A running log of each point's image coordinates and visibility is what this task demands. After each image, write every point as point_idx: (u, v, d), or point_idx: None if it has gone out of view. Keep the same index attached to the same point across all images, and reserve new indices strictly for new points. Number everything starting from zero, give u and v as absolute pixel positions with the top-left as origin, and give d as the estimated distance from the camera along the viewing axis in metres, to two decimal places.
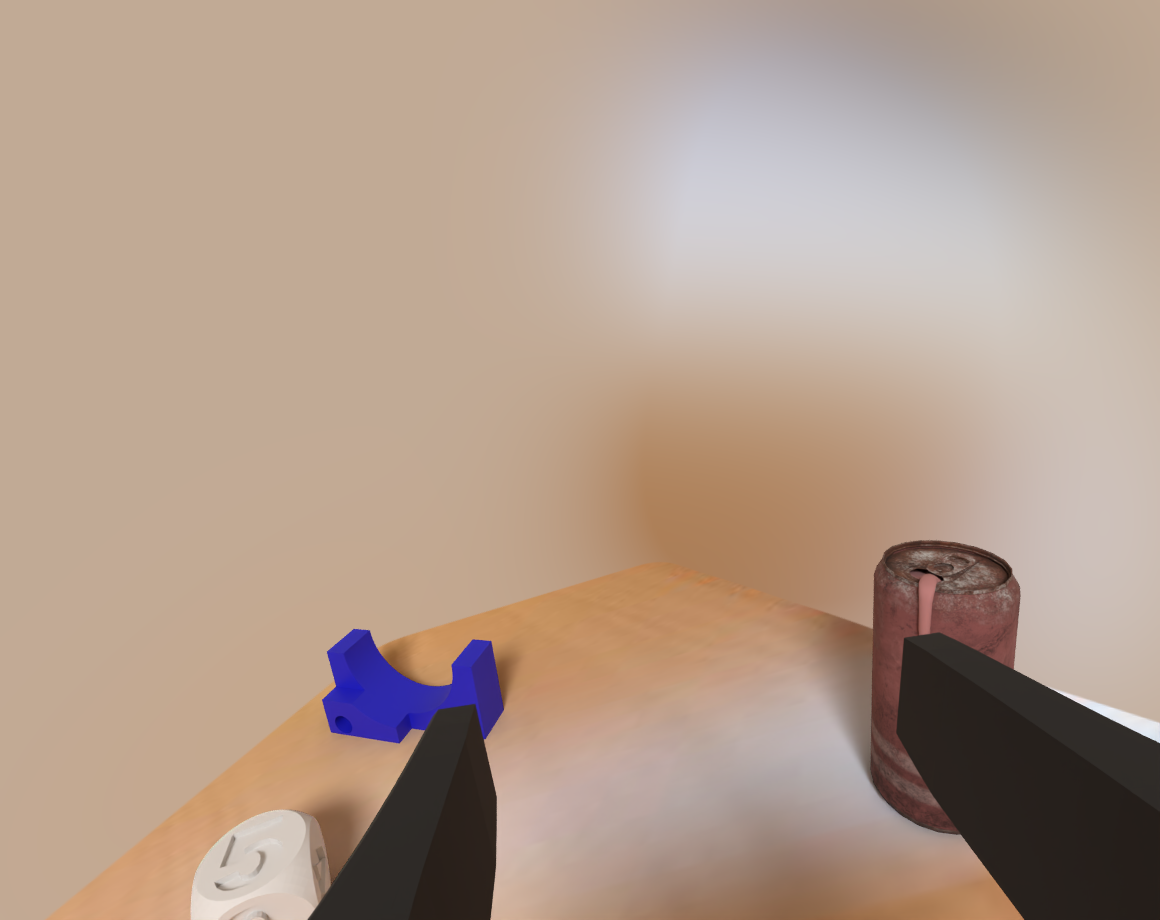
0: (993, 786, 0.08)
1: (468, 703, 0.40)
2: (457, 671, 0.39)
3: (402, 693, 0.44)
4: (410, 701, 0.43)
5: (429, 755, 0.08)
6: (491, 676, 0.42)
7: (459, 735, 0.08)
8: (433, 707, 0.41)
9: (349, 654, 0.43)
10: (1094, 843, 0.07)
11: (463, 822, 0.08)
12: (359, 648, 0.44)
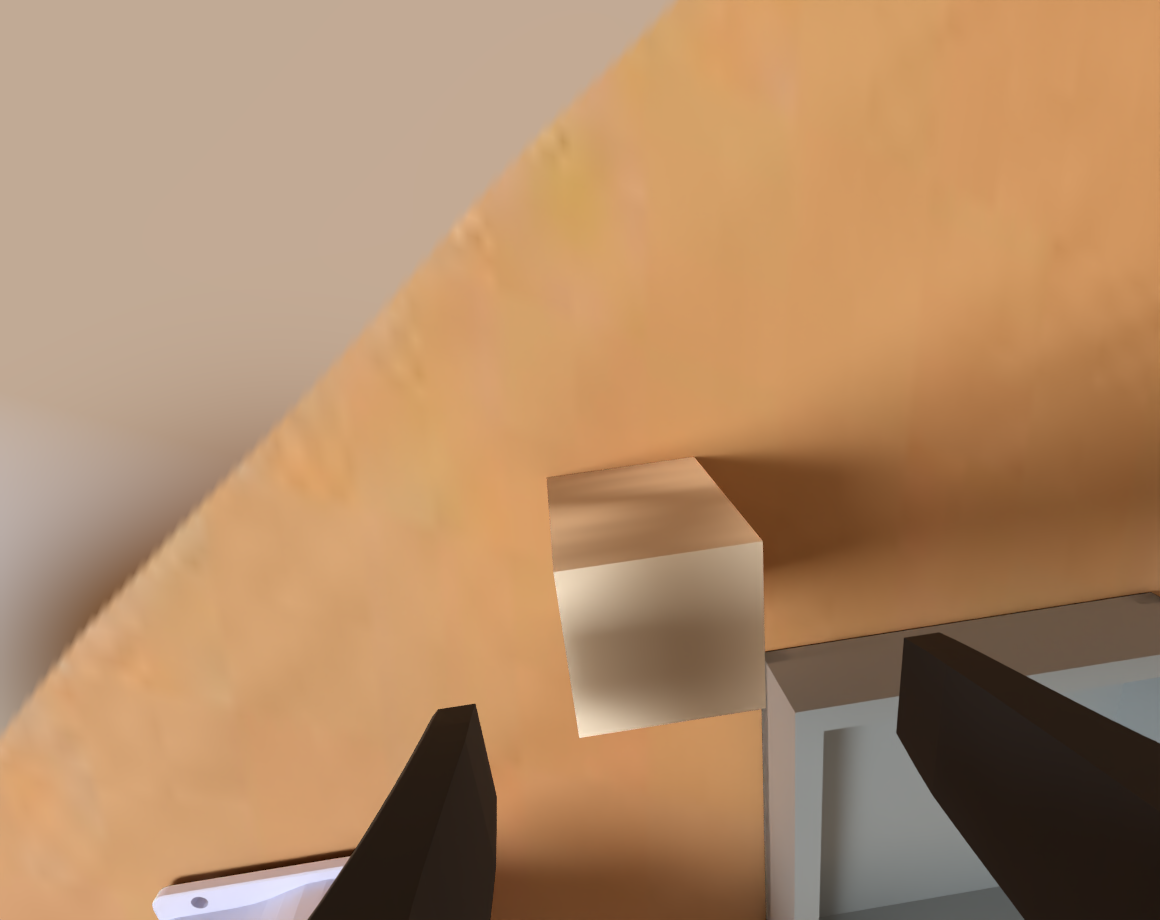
0: (993, 786, 0.08)
1: None
2: None
3: None
4: None
5: (429, 755, 0.08)
6: None
7: (459, 735, 0.08)
8: None
9: None
10: (1094, 843, 0.07)
11: (463, 822, 0.08)
12: None
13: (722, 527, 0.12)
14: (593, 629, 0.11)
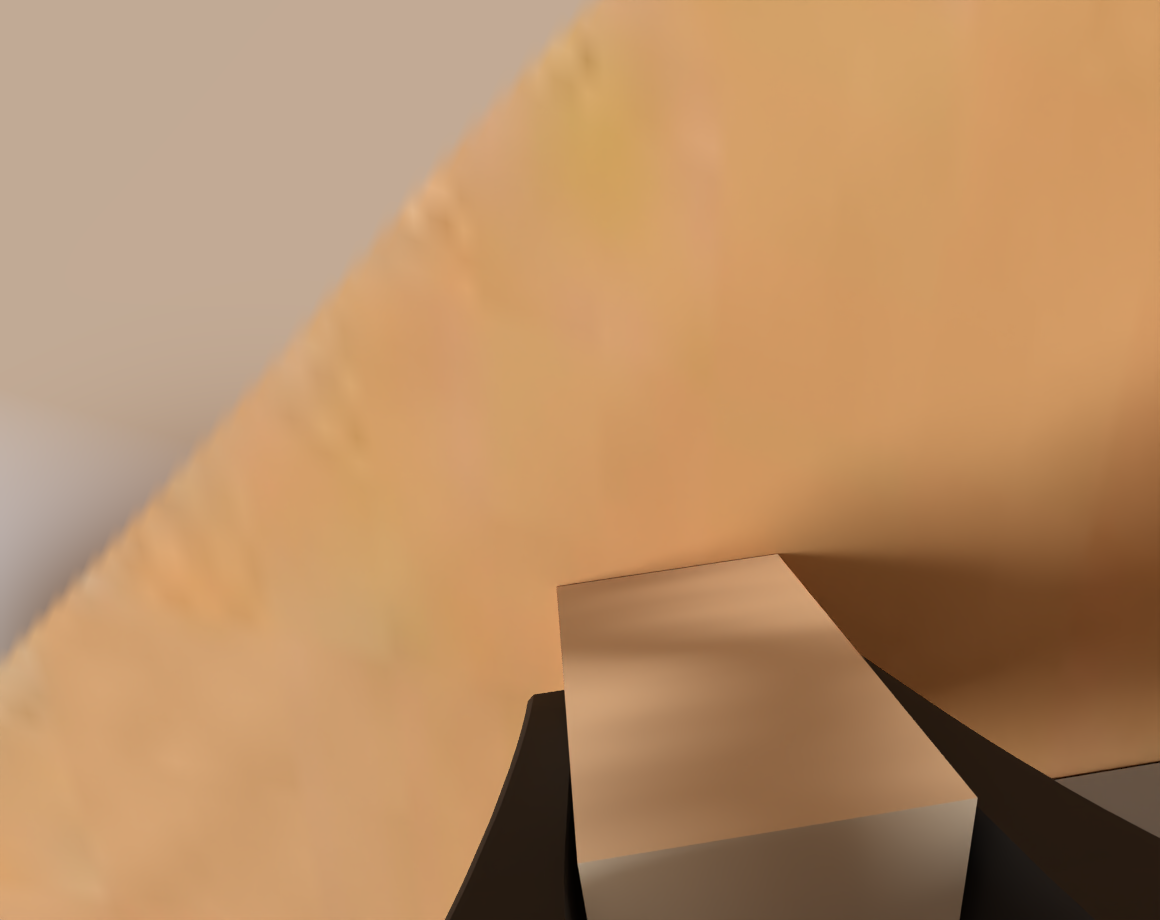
0: None
1: None
2: None
3: None
4: None
5: (539, 738, 0.08)
6: None
7: (564, 718, 0.08)
8: None
9: None
10: None
11: None
12: None
13: (881, 744, 0.06)
14: None
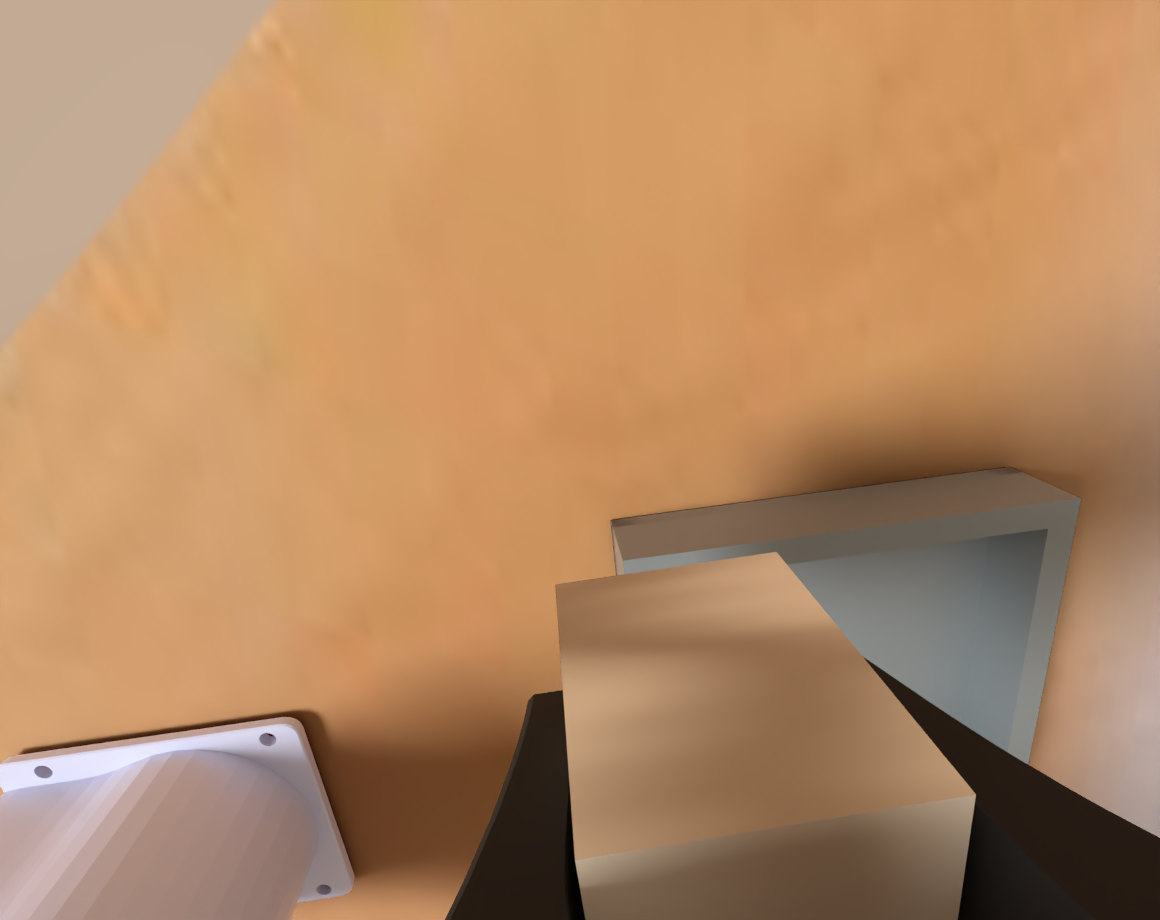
0: None
1: None
2: None
3: None
4: None
5: (539, 738, 0.08)
6: None
7: (564, 718, 0.08)
8: None
9: None
10: None
11: None
12: None
13: (879, 741, 0.06)
14: None
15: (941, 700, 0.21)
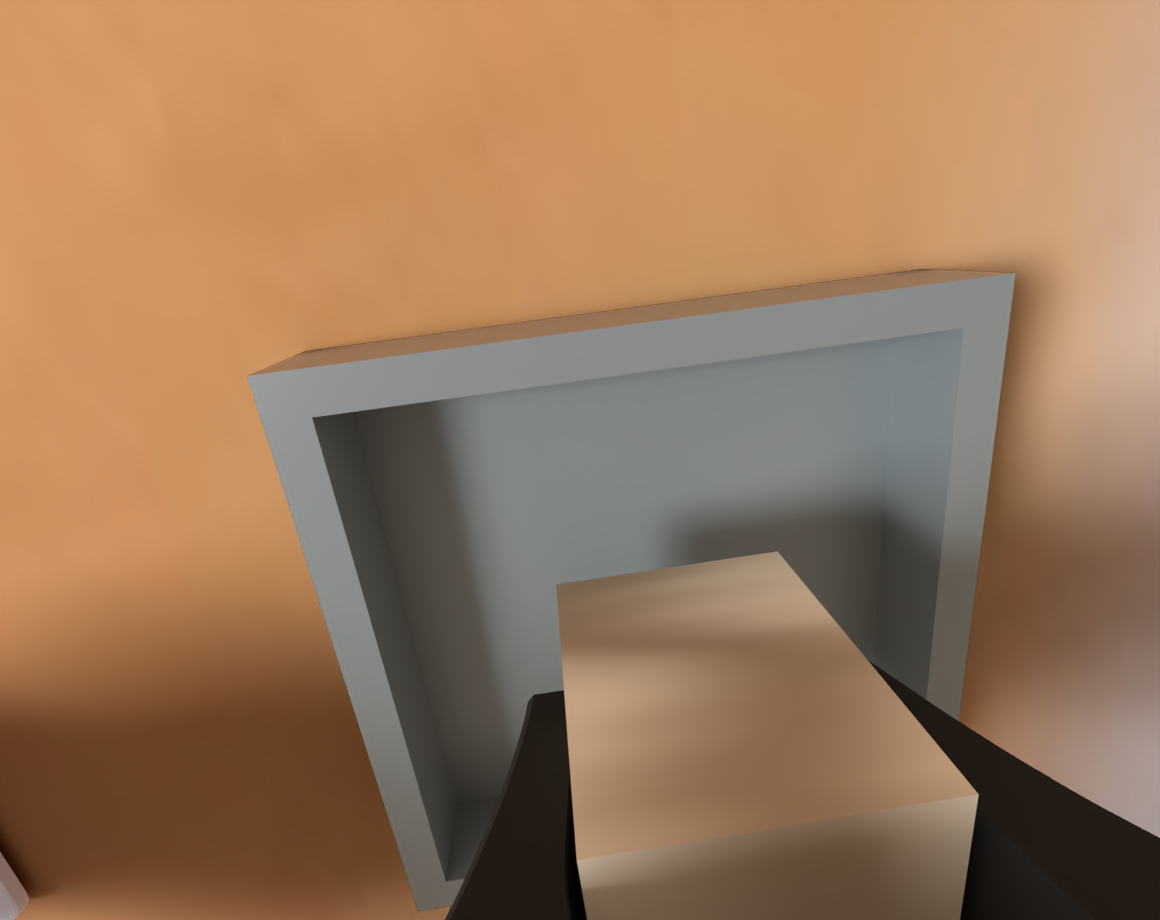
0: None
1: None
2: None
3: None
4: None
5: (539, 738, 0.08)
6: None
7: (564, 718, 0.08)
8: None
9: None
10: None
11: None
12: None
13: (881, 741, 0.06)
14: None
15: None
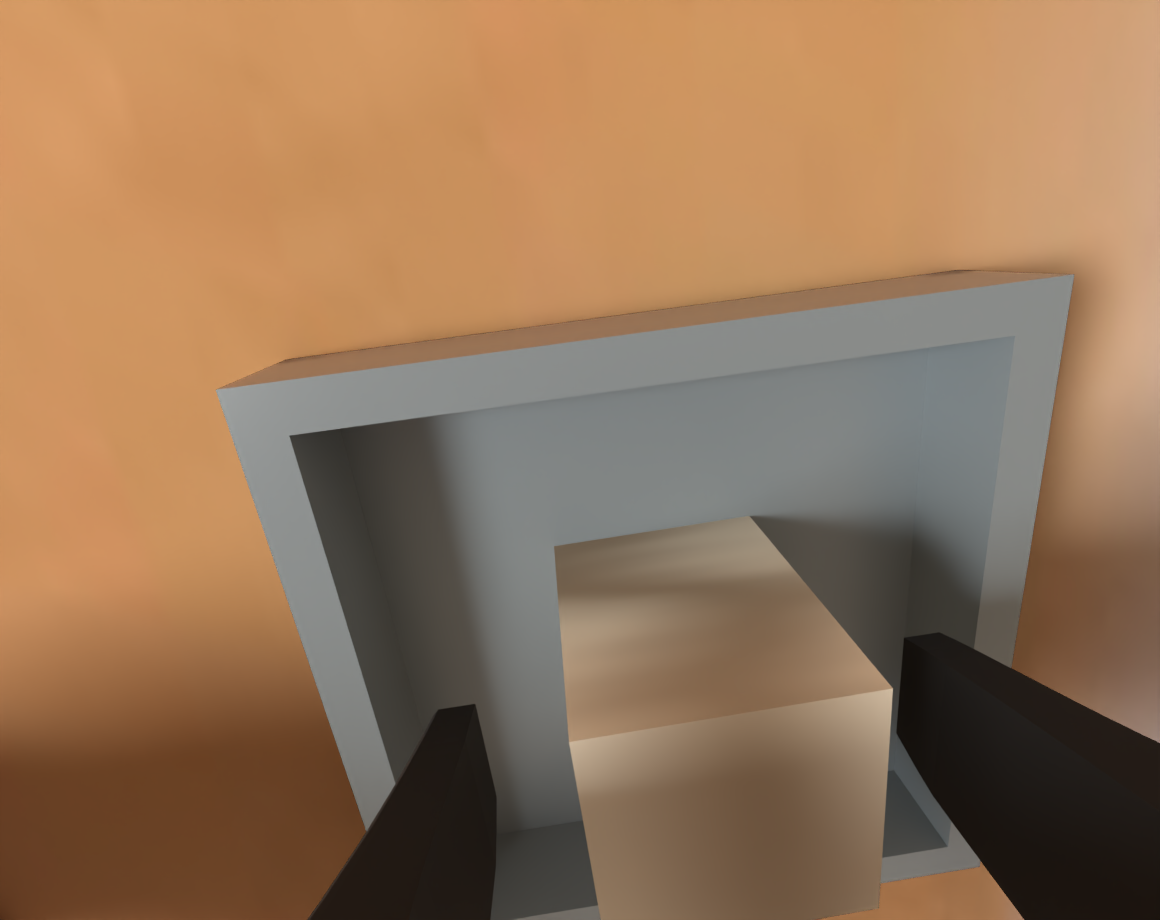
0: (993, 786, 0.08)
1: None
2: None
3: None
4: None
5: (429, 755, 0.08)
6: None
7: (459, 735, 0.08)
8: None
9: None
10: (1094, 843, 0.07)
11: (463, 822, 0.08)
12: None
13: (820, 654, 0.08)
14: (629, 817, 0.07)
15: None
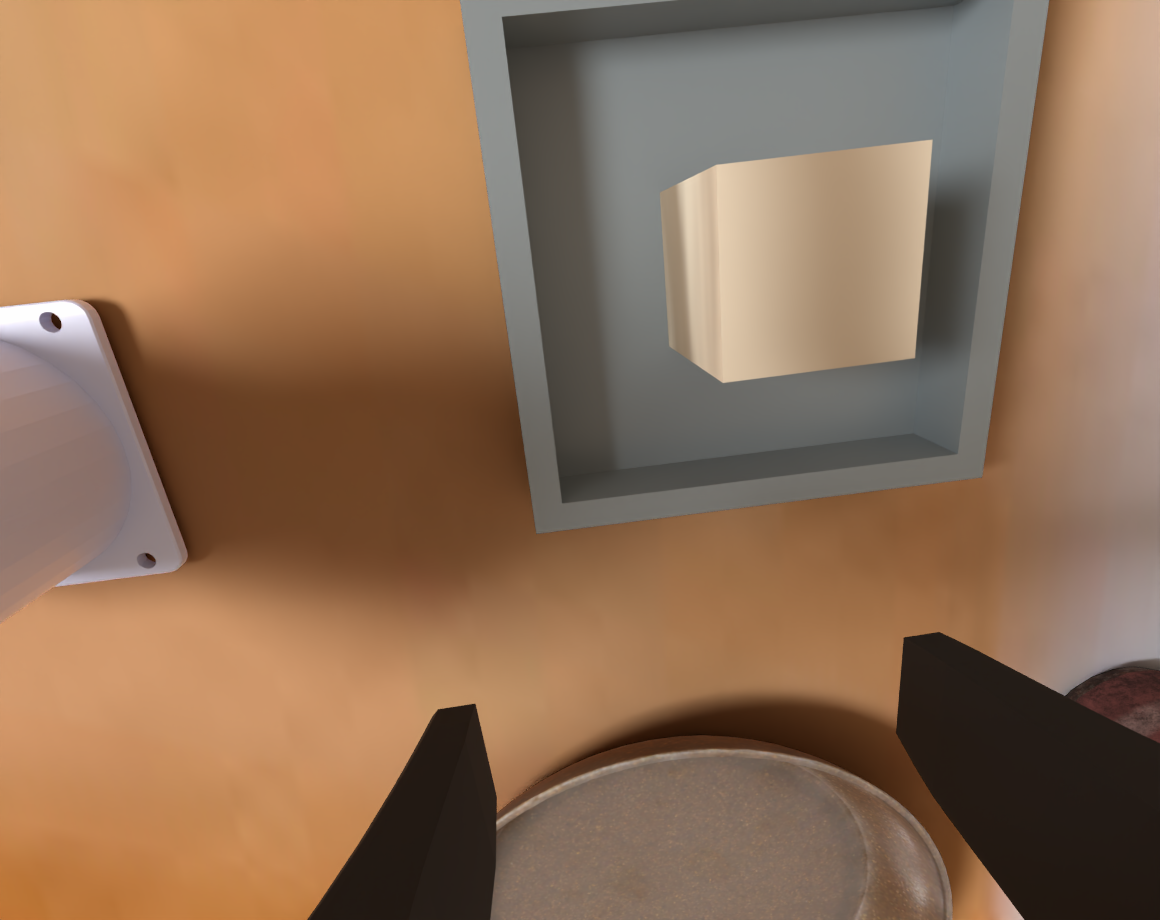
0: (992, 785, 0.08)
1: None
2: None
3: None
4: None
5: (429, 755, 0.08)
6: None
7: (459, 735, 0.08)
8: None
9: None
10: (1094, 843, 0.07)
11: (463, 822, 0.08)
12: None
13: None
14: (750, 242, 0.11)
15: None
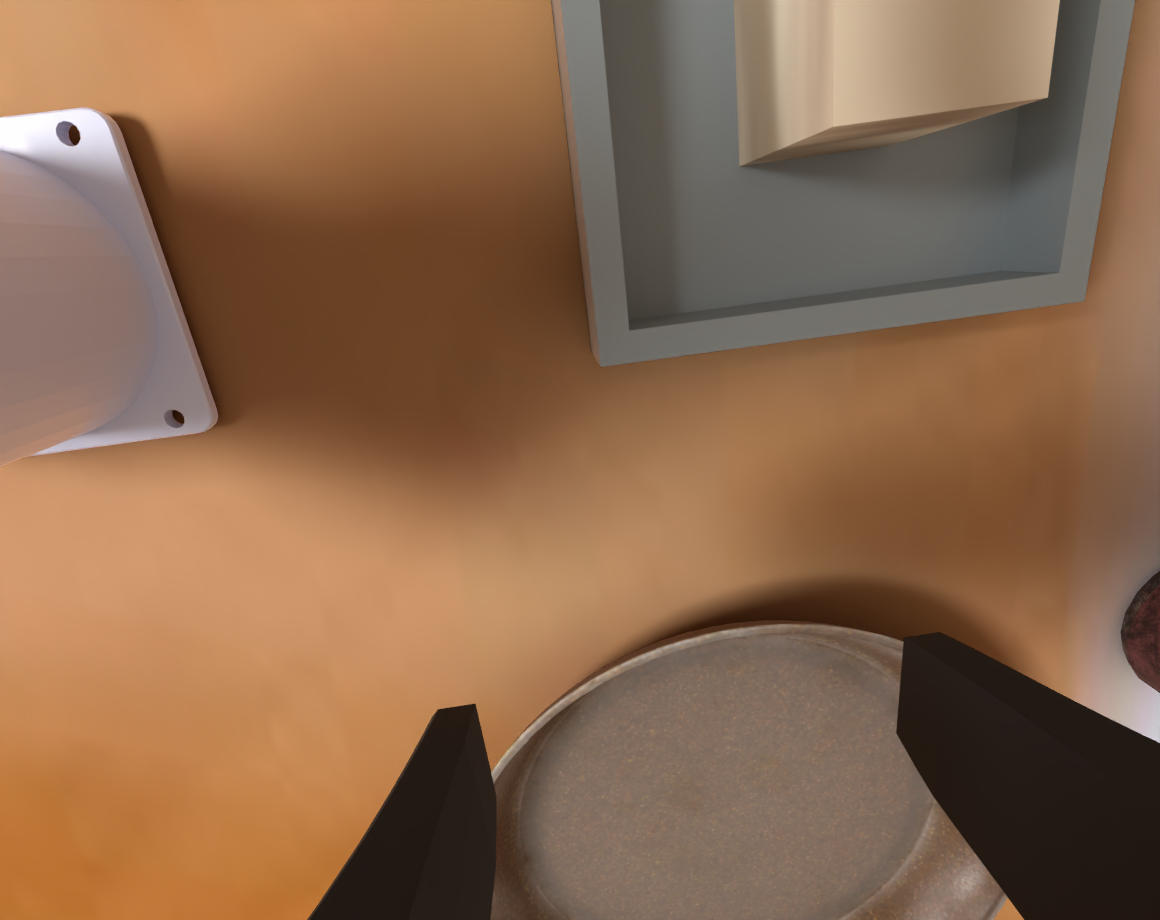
0: (993, 786, 0.08)
1: None
2: None
3: None
4: None
5: (429, 755, 0.08)
6: None
7: (459, 735, 0.08)
8: None
9: None
10: (1094, 843, 0.07)
11: (463, 822, 0.08)
12: None
13: None
14: None
15: (983, 141, 0.15)
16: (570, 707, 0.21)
